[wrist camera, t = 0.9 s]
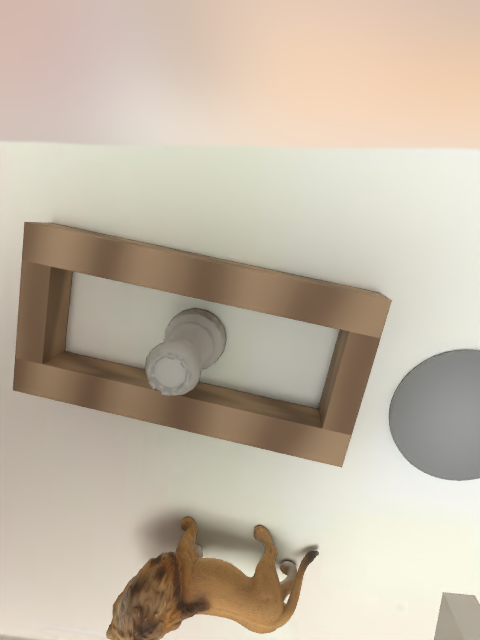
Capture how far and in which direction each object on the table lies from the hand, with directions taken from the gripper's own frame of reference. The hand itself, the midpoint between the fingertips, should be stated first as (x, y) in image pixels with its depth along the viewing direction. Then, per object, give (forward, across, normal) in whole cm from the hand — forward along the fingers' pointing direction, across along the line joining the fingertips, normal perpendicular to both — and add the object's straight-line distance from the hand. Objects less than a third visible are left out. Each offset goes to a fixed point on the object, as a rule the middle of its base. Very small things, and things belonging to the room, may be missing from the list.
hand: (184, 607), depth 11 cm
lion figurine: (+20, -1, -16) cm, 26 cm away
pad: (+20, +16, -3) cm, 25 cm away
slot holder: (+20, -3, +2) cm, 20 cm away
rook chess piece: (+20, -3, +2) cm, 20 cm away
